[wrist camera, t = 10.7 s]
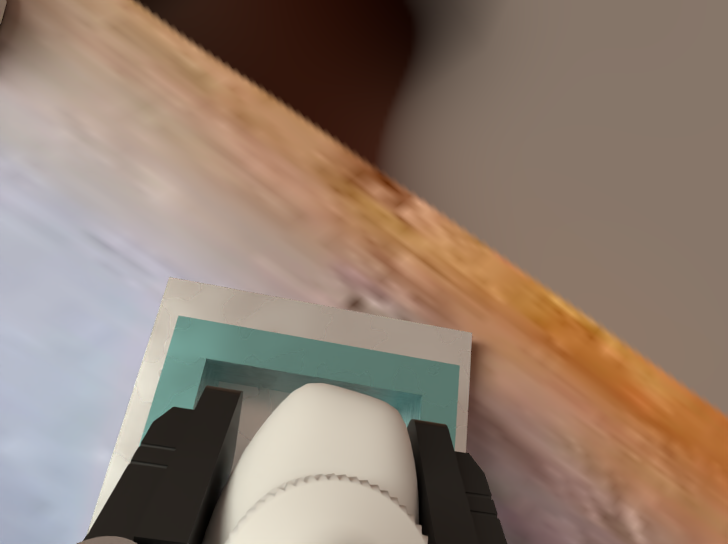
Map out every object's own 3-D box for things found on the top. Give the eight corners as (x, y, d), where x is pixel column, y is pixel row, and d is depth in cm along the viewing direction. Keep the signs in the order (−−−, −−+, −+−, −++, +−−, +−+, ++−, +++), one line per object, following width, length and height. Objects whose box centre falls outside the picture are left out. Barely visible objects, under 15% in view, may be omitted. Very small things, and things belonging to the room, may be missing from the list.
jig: (437, 810, 16) (499, 939, 12) (20, 773, 15) (-91, 901, 10) (464, 338, 23) (511, 303, 18) (173, 285, 21) (146, 233, 17)
